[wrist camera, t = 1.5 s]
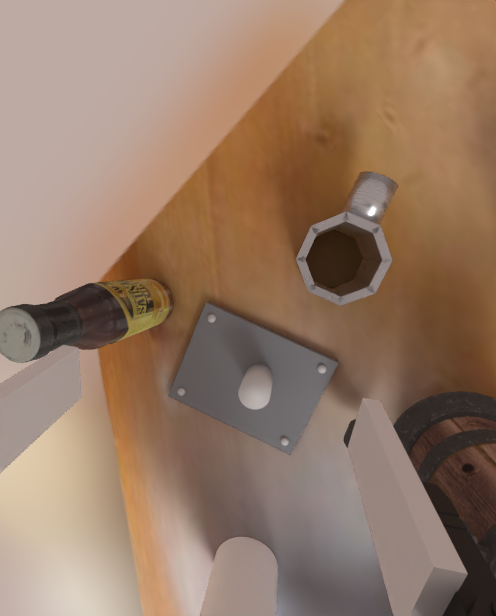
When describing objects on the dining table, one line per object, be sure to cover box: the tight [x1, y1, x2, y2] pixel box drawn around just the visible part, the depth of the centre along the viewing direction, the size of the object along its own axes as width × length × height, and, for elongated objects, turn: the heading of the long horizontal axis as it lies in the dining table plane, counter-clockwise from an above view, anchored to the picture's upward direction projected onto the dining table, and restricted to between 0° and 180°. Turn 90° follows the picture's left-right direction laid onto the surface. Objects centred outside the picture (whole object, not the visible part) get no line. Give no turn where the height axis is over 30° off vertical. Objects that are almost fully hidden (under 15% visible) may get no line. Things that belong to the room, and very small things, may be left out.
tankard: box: [344, 392, 496, 578], centre depth 28 cm, size 24×17×20 cm
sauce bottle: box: [0, 278, 173, 363], centre depth 30 cm, size 6×6×20 cm
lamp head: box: [296, 172, 398, 306], centre depth 32 cm, size 12×8×8 cm, turn 157°
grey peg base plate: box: [168, 302, 339, 455], centre depth 37 cm, size 18×14×6 cm
